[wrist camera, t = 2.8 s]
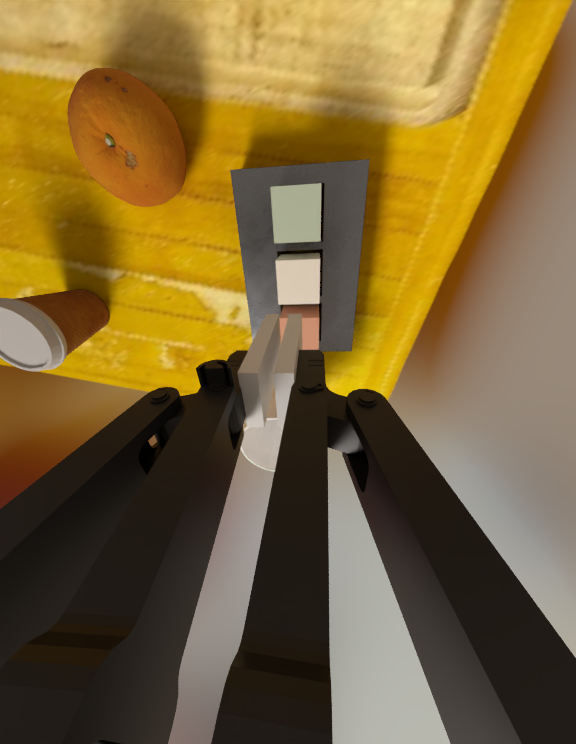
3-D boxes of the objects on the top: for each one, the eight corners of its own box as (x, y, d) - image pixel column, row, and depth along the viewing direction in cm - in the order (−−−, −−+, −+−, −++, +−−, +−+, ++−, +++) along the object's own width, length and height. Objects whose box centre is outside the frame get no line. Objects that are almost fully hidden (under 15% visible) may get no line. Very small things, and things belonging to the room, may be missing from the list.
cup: (311, 358, 42) (309, 413, 30) (320, 407, 47) (322, 470, 35) (250, 367, 44) (227, 422, 32) (266, 413, 49) (251, 474, 37)
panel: (240, 175, 30) (230, 170, 26) (362, 166, 28) (369, 159, 25) (259, 339, 41) (254, 351, 37) (348, 339, 39) (351, 351, 36)
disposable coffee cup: (79, 265, 37) (-10, 284, 27) (131, 319, 41) (70, 353, 31) (47, 299, 40) (-43, 328, 30) (98, 346, 44) (33, 385, 34)
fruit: (167, 227, 33) (129, 231, 26) (92, 152, 30) (26, 133, 23) (215, 156, 29) (185, 139, 22) (134, 58, 25) (68, 1, 19)
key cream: (281, 254, 30) (275, 260, 26) (319, 252, 30) (320, 259, 26) (283, 293, 33) (278, 304, 29) (318, 292, 32) (319, 303, 28)
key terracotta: (283, 305, 34) (279, 318, 29) (318, 304, 33) (319, 317, 29) (285, 337, 36) (281, 353, 32) (318, 336, 36) (318, 353, 31)
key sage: (277, 191, 27) (270, 186, 23) (320, 188, 27) (321, 183, 22) (280, 239, 30) (274, 243, 25) (319, 237, 29) (320, 241, 25)
